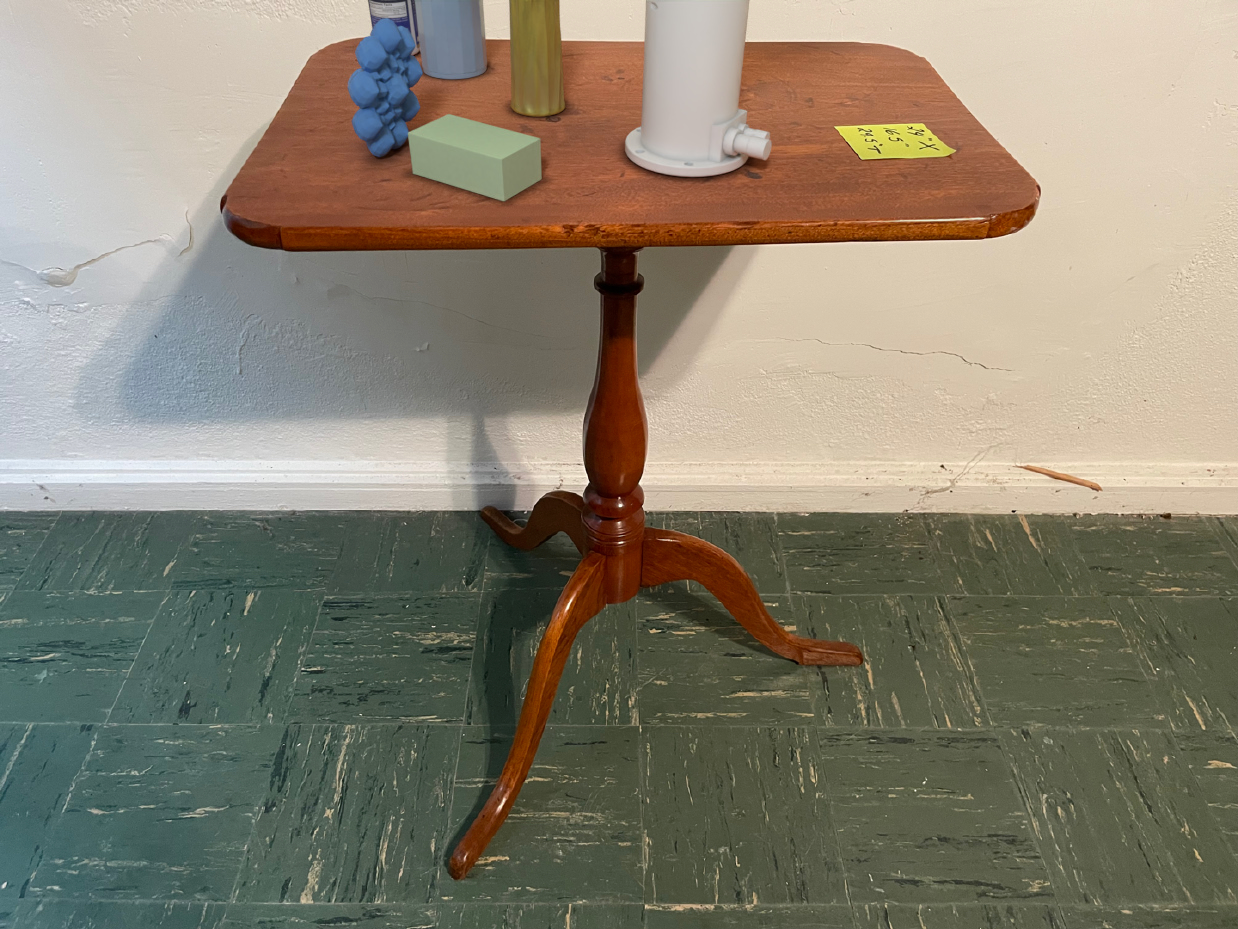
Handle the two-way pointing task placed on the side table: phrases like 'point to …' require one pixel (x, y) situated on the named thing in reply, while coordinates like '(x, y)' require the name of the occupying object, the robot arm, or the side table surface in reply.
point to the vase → (536, 58)
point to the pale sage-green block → (476, 156)
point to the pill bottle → (396, 15)
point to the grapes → (385, 87)
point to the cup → (452, 38)
